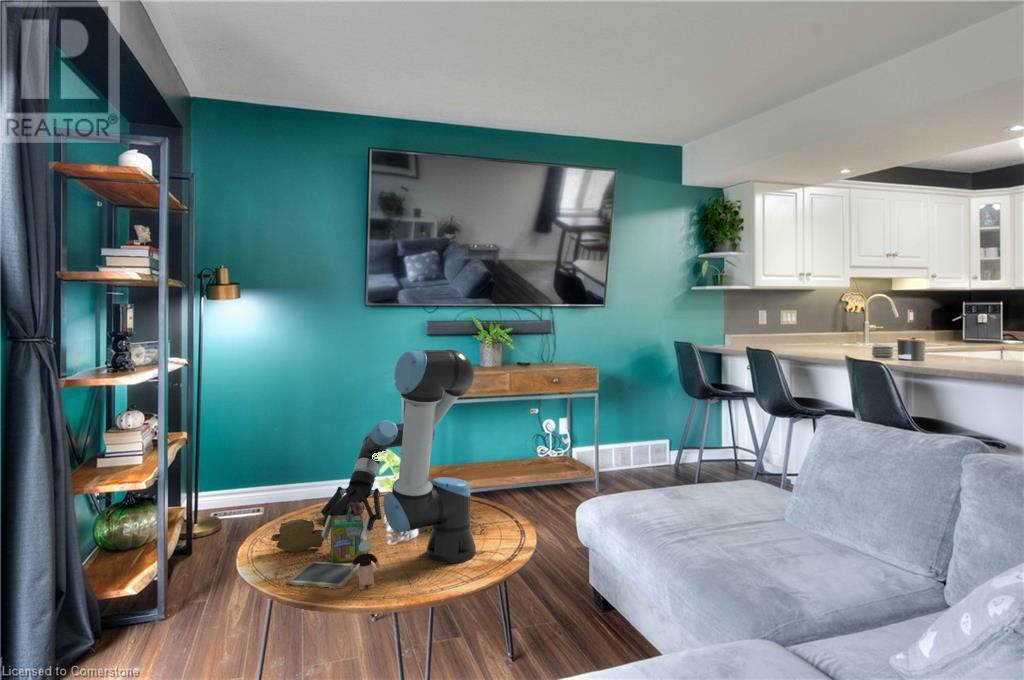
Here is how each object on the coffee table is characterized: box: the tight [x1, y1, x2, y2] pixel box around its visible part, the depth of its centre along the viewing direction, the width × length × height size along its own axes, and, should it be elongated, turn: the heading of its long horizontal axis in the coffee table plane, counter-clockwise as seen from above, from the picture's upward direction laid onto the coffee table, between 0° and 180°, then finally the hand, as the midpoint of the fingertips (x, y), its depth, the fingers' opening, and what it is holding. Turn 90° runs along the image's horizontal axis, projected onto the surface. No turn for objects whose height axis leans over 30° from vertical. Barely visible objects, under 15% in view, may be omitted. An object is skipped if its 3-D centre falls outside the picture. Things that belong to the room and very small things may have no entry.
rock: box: [335, 496, 366, 516], centre depth 211 cm, size 12×9×10 cm
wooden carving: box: [270, 518, 325, 553], centre depth 181 cm, size 16×5×10 cm, turn 109°
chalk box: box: [330, 507, 364, 563], centre depth 176 cm, size 9×9×15 cm
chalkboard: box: [285, 560, 360, 590], centre depth 162 cm, size 16×14×1 cm
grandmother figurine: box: [350, 539, 381, 591], centre depth 155 cm, size 8×4×13 cm, turn 118°
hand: (343, 538), depth 173 cm, fingers closed on chalk box, 12 cm apart
